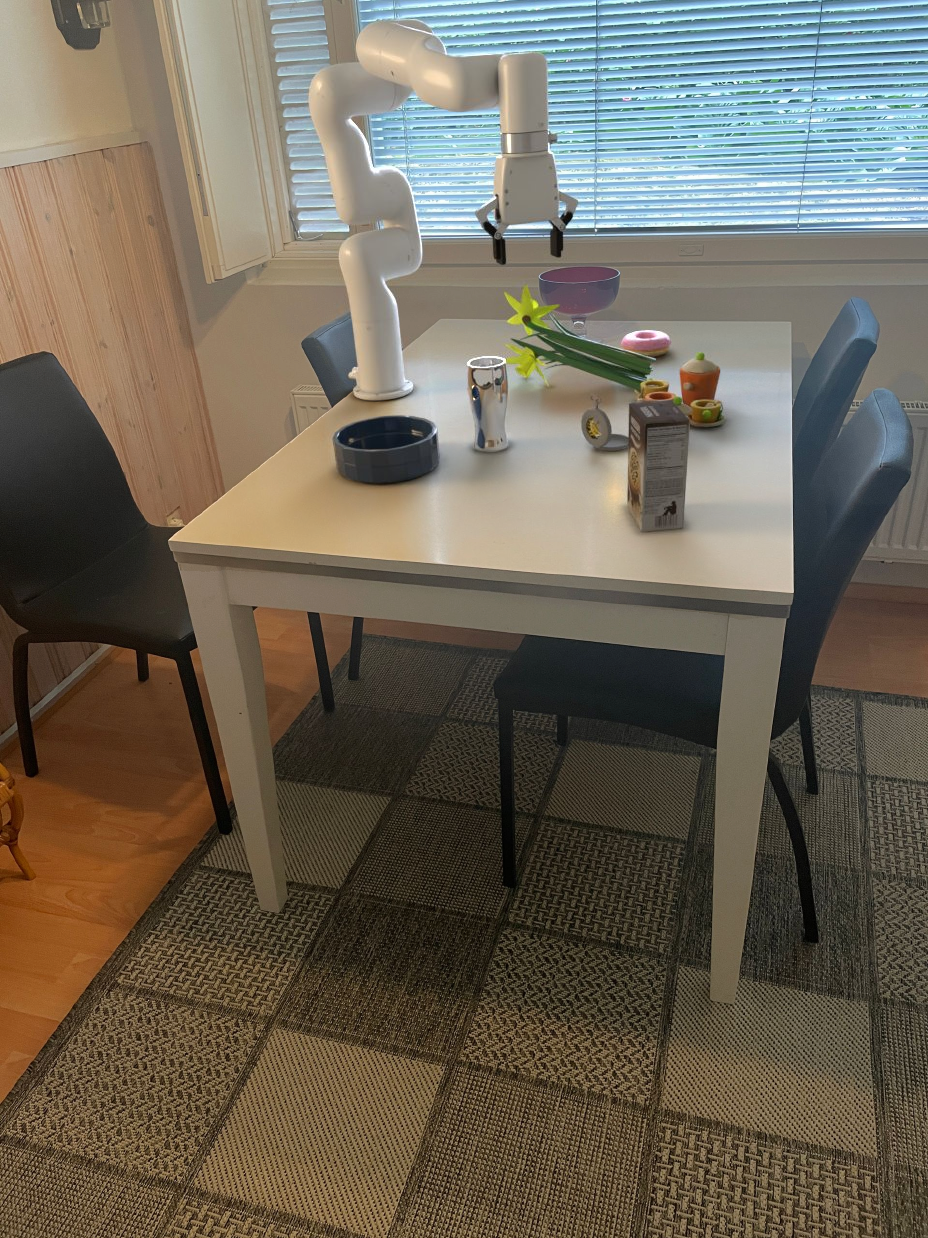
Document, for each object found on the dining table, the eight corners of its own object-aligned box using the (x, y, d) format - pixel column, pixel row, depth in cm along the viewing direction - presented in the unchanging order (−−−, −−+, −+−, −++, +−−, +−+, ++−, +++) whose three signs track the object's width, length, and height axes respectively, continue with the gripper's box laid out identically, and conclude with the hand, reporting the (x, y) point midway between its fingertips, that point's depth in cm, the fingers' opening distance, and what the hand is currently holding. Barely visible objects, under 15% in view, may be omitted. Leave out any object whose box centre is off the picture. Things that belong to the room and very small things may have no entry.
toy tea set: (632, 396, 185) (633, 347, 180) (712, 392, 184) (716, 343, 179) (645, 443, 163) (647, 388, 158) (737, 439, 161) (741, 384, 156)
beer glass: (507, 453, 163) (503, 367, 155) (467, 453, 165) (461, 367, 157) (513, 439, 169) (509, 355, 161) (475, 439, 170) (470, 356, 163)
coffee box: (625, 507, 141) (627, 401, 132) (667, 502, 141) (672, 397, 133) (640, 533, 133) (643, 422, 125) (685, 528, 133) (691, 418, 125)
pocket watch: (633, 440, 164) (634, 383, 159) (624, 457, 158) (625, 399, 153) (587, 437, 167) (587, 382, 162) (576, 454, 160) (576, 397, 155)
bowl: (316, 473, 161) (311, 439, 158) (385, 441, 173) (382, 409, 170) (392, 493, 151) (387, 458, 148) (460, 458, 163) (457, 424, 160)
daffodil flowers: (631, 408, 182) (468, 351, 190) (636, 423, 196) (485, 370, 204) (665, 325, 180) (500, 271, 188) (668, 346, 194) (514, 296, 203)
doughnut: (615, 358, 209) (615, 339, 207) (627, 345, 217) (628, 326, 215) (664, 360, 205) (665, 340, 203) (675, 346, 213) (675, 328, 211)
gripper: (567, 138, 152) (568, 250, 161) (465, 148, 148) (472, 262, 157) (585, 140, 146) (586, 256, 154) (479, 151, 142) (486, 269, 151)
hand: (528, 259), depth 156 cm, fingers open, 9 cm apart
